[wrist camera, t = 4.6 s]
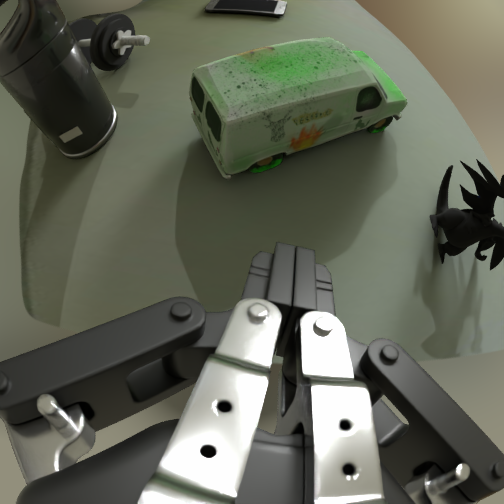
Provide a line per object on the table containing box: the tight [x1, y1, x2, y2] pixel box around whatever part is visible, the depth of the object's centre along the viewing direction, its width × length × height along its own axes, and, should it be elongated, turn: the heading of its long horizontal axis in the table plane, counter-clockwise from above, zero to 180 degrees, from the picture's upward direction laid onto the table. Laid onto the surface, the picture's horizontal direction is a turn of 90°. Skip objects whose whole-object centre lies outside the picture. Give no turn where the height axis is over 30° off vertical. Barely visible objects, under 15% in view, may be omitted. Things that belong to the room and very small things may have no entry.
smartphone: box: [205, 0, 287, 17], centre depth 39 cm, size 7×15×1 cm, turn 79°
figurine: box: [430, 159, 504, 270], centre depth 24 cm, size 16×13×11 cm
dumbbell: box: [69, 14, 150, 71], centre depth 31 cm, size 22×10×10 cm, turn 70°
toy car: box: [189, 37, 407, 179], centre depth 28 cm, size 11×25×10 cm, turn 116°
